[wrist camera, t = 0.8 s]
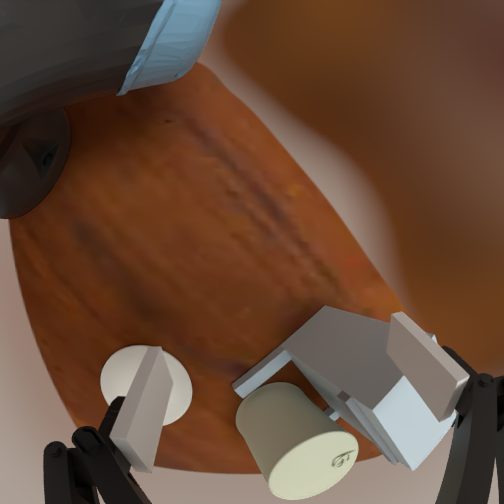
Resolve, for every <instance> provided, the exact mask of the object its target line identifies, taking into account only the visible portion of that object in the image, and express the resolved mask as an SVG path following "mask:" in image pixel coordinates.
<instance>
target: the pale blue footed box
mask: <svg viewBox="0 0 504 504" xmlns="http://www.w3.org/2000/svg"><path fill="white" fill-rule="evenodd" d="M389 330H390V323H387V322H383V321H380V320H376V319H372V318H369V317H365V316H361V315H358V314H354V313H350V312H347V311H343V310H340V309H336V308H333V307H329V306H326V305H325V306H323V307H322V308H321V309H320V310H319V311H318V312H317V313H316V314H315V315H314V316H313V317H312V318H310V319H309V320H308V321H307V322H306V323H305V324H304V325H303V326H302V327H300V328H299V329H298V330H297V331H296V332H295V333H294V334H293V335H291V336H290V337H289V338H288V339H287V340H286V341H284V342H283V343H282V344H281V345H280V346H279V347H277V348H276V349H275V350H274V351H273V352H271V353H270V354H269V355H268V356H267V357H265V358H264V359H263V360H262V361H260V362H259V363H258V364H257V365H256V366H254V367H253V368H252V369H250V370H249V371H248V372H247V373H245V374H244V375H243V376H242V377H240V378H239V379H238V380H236V381H235V382H234V383H232V384H231V385H232V387H233V389H234V391H235V392H236V393H237V394H238V395H239V396H240V397H241V398H242V399H243V398H244V397H246V396H247V395H248V394H250V393H251V392H252V391H253V390H255V389H256V388H257V387H259V386H260V385H261V384H262V383H264V382H265V381H266V380H267V379H269V378H270V377H271V376H272V375H273V374H275V373H276V372H277V371H278V370H279V369H281V368H282V367H283V366H284V365H285V364H287V363H288V362H289V361H290V360H292V361H293V362H294V364H295V365H296V366H297V367H298V369H299V370H300V371H301V372H302V373H303V375H304V376H305V377H306V378H307V380H308V381H309V382H310V383H311V384H312V386H313V387H314V388H315V389H316V391H317V392H318V393H319V394H320V395H321V397H322V398H323V399H324V400H325V401H326V403H327V404H328V405H329V407H328V408H327V409H326V410H325V411H324V413H325V414H326V415H327V416H329V417H330V418H331V419H332V420H333V421H335V420H336V419H338V418H339V417H341V418H343V419H344V420H345V421H346V422H348V423H349V424H350V425H351V426H353V427H354V428H355V429H356V430H358V431H359V432H360V433H362V434H363V435H364V436H365V437H367V438H368V439H369V440H371V441H372V442H373V443H374V444H375V445H376V446H377V447H378V449H379V450H380V451H381V452H382V454H383V455H384V456H385V457H386V459H387V460H388V461H390V462H391V463H392V464H394V465H396V463H398V462H401V463H402V464H404V465H405V466H406V467H408V468H409V469H411V470H412V471H414V470H415V469H416V468H417V467H418V466H419V465H420V463H421V462H422V461H423V460H424V459H425V458H426V456H428V455H429V453H430V452H431V451H432V450H433V449H434V448H435V446H436V445H437V444H438V443H439V442H440V440H441V439H442V438H443V437H444V435H445V434H446V433H447V431H448V430H449V429H450V427H451V425H452V423H453V421H454V419H455V418H456V413H455V409H454V411H453V413H452V415H451V417H449V418H447V419H446V420H444V421H442V422H440V423H439V422H438V420H437V419H436V418H435V416H434V415H433V413H432V412H431V411H430V409H429V408H428V407H427V405H426V404H425V402H424V401H423V400H422V398H421V397H420V396H419V394H418V393H417V392H416V390H415V389H414V388H413V386H412V385H411V384H410V382H409V381H408V380H407V378H406V377H405V376H404V374H403V373H402V372H401V370H400V369H399V368H398V367H397V365H396V364H395V363H394V361H393V360H392V359H391V358H390V356H389V355H388V354H387V352H386V349H387V343H388V337H389ZM425 333H426V332H425ZM426 334H427V335H428V336H429V337H430V338H432V339H433V340H434V341H435V342H436V343H437V341H436V338H435V335H433V334H430V333H426Z"/></svg>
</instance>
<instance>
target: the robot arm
mask: <svg viewBox="0 0 504 504" xmlns="http://www.w3.org/2000/svg"><path fill="white" fill-rule="evenodd" d="M221 2H222V0H0V218H1V219H11V218H16V217H19V216H21V215H23V214H25V213H27V212H28V211H30V210H31V209H33V208H34V207H35V206H36V205H37V204H39V203H40V202H41V201H42V200H43V198H44V197H45V196H46V195H47V194H48V193H49V191H50V190H51V189H52V187H53V186H54V184H55V182H56V181H57V179H58V177H59V175H60V173H61V171H62V169H63V167H64V164H65V162H66V159H67V156H68V152H69V147H70V140H71V128H70V122H69V118H68V115H67V113H66V111H65V110H64V108H63V107H66V106H69V105H72V104H76V103H80V102H83V101H87V100H91V99H95V98H100V97H104V96H108V95H113V94H116V95H117V96H121V95H124V94H126V93H127V92H128V91H129V90H134V89H138V88H143V87H148V86H153V85H159V84H165V83H170V82H173V81H175V80H177V79H179V78H181V77H182V76H184V75H185V74H186V73H187V72H188V71H189V70H190V69H191V68H192V66H193V65H194V63H195V62H196V61H197V60H198V58H199V57H200V55H201V53H202V51H203V49H204V47H205V45H206V43H207V40H208V38H209V36H210V33H211V30H212V28H213V25H214V22H215V20H216V17H217V14H218V11H219V8H220V5H221ZM386 352H387V354H388V355H389V356H390V358H391V359H392V360H393V361H394V363H395V364H396V365H397V367H398V368H399V369H400V370H401V372H402V373H403V374H404V376H405V377H406V378H407V380H408V381H409V382H410V384H411V385H412V386H413V388H414V389H415V390H416V392H417V393H418V394H419V396H420V397H421V398H422V400H423V401H424V402H425V404H426V405H427V407H428V408H429V409H430V411H431V412H432V413H433V415H434V416H435V418H436V419H437V420H438V422H439V423H440V422H442V421H444V420H446V419H447V418H449V417H451V415H452V413H453V411H454V409H456V410H457V412H458V414H457V416H456V418H455V419H454V421H453V423H452V425H451V427H453V426H454V424H455V428H454V434H453V440H452V445H451V449H450V454H449V459H448V462H447V467H446V470H445V474H444V478H443V481H442V485H441V488H440V491H439V494H438V497H437V500H436V503H435V504H487V503H488V498H489V493H490V488H491V483H492V476H493V469H494V462H495V458H496V466H497V475H498V489H499V504H504V375H503V376H500V377H496V378H493V377H492V376H491V375H489V374H486V373H481V374H478V373H477V372H476V371H474V370H473V369H472V368H471V367H470V366H469V365H468V364H467V363H466V362H465V361H464V360H462V358H461V357H460V356H458V354H456V352H455V351H453V350H452V349H451V348H448V347H446V346H442V347H440V346H439V345H438V344H437V343H436V342H435V341H434V340H433V339H432V338H430V337H429V336H428V335H427V334H426V333H425V332H424V331H423V330H422V329H421V328H420V327H418V326H417V325H416V324H415V323H414V322H413V321H412V320H411V319H410V318H409V317H408V316H407V315H405V314H404V313H403V312H398V313H394V314H391V322H390V330H389V337H388V343H387V349H386ZM172 387H173V380H172V378H171V375H170V372H169V369H168V366H167V363H166V360H165V357H164V354H163V351H162V348H161V346H158V347H148V349H147V351H146V353H145V355H144V357H143V359H142V362H141V364H140V366H139V368H138V370H137V373H136V375H135V377H134V379H133V382H132V384H131V386H130V388H129V391H128V393H127V395H126V396H117V397H116V398H115V399H114V400H113V401H112V402H111V404H110V406H109V408H108V411H107V412H106V414H105V417H104V419H103V421H102V423H101V425H100V428H99V430H98V431H97V430H96V429H95V428H93V427H91V426H84V427H80V428H79V429H77V430H76V431H75V432H74V433H73V435H72V443H73V444H74V445H75V446H76V448H67V447H66V446H65V445H64V444H63V443H62V442H59V441H54V442H51V443H49V444H48V445H47V446H46V447H45V449H44V460H43V461H44V462H43V464H44V465H43V467H44V493H45V504H100V503H99V499H98V493H97V489H98V491H99V493H100V495H101V496H102V498H103V500H104V502H105V503H106V504H152V503H151V502H150V500H149V499H148V498H147V496H146V495H145V493H144V492H143V491H142V489H141V488H140V486H139V485H138V484H137V482H136V481H135V479H134V478H133V476H132V474H131V473H130V472H129V470H130V467H131V466H132V467H133V468H134V469H135V471H138V472H146V473H152V469H153V464H154V460H155V455H156V451H157V447H158V443H159V438H160V434H161V430H162V426H163V422H164V418H165V414H166V410H167V406H168V402H169V398H170V394H171V391H172ZM96 487H97V488H96Z"/></svg>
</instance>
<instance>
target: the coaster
mask: <svg viewBox="0 0 504 504" xmlns="http://www.w3.org/2000/svg"><path fill="white" fill-rule="evenodd" d="M148 347H153V346H149V345H132V346H128V347H124V348H122V349H120V350H118V351H116V352H115V353H114V354H113V355H111V357H110V358H109V359H108V360H107V362H106V363H105V365H104V367H103V370H102V373H101V380H100V381H101V389H102V393H103V395H104V398H105V400H106V402H107V403H108V404H109V406H110V404H111V402H112V401H113V400H114V399H115V398H116V397H117V396H126V395H127V393H128V391H129V388H130V386H131V384H132V382H133V379H134V377H135V375H136V373H137V370H138V368H139V366H140V364H141V362H142V359H143V357H144V355H145V353H146V351H147V349H148ZM162 351H163V354H164V357H165V360H166V363H167V366H168V369H169V372H170V375H171V378H172V380H173V387H172V391H171V394H170V398H169V402H168V406H167V410H166V414H165V418H164V422H163V426H164V425H167V424H170V423H172V422H174V421H176V420H177V419H179V418H180V417H181V416H182V415H183V414H184V413H185V412H186V411H187V409H188V407H189V405H190V403H191V399H192V385H191V381H190V377H189V375H188V373H187V371H186V369H185V368H184V366H183V365H182V364H181V363H180V362H179V360H178V359H176V358H175V357H174V356H173V355H171V354H170V353H168V352H166V351H164V350H162Z"/></svg>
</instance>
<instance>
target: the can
mask: <svg viewBox="0 0 504 504" xmlns="http://www.w3.org/2000/svg"><path fill="white" fill-rule="evenodd" d="M236 425H237V428H238V430H239V432H240V433H241V435H242V436H243V437H244V439H245V441H246V443H247V445H248V447H249V449H250V451H251V453H252V455H253V457H254V459H255V461H256V463H257V465H258V467H259V468H260V470H261V472H262V474H263V476H264V478H265V480H266V482H267V484H268V487H269V489H270V491H271V492H272V493H273V494H274V495H275V496H277V497H279V498H282V499H286V500H287V499H288V500H298V499H304V498H308V497H311V496H314V495H317V494H319V493H321V492H323V491H325V490H327V489H328V488H330V487H332V486H333V485H334V484H336V483H337V482H338V481H339V480H341V479H342V478H343V477H344V476H345V475H346V473H347V472H348V471H349V470H350V468H351V467H352V465H353V464H354V462H355V460H356V457H357V454H358V443H357V440H356V438H355V437H354V436H353V435H352V434H350V433H348V432H347V431H346V430H344V429H343V428H342V427H341V426H339V425H338V424H337V423H336V422H335V421H333V420H332V419H331V418H330V417H329V416H327V415H326V414H325V413H324V412H323V411H322V410H321V409H320V408H318V407H317V406H316V405H315V404H314V403H313V402H312V401H311V400H310V399H309V398H308V397H307V396H306V395H305V394H304V392H303V391H302V390H301V389H300V388H299V387H297V386H295V385H293V384H290V383H285V382H275V383H270V384H266V385H264V386H261V387H259V388H257V389H255V390H254V391H252V392H251V393H250V394H249V395H248V396H246V398H245V399H244V400H243V401H242V402H241V404H240V406H239V408H238V410H237V413H236Z"/></svg>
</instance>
